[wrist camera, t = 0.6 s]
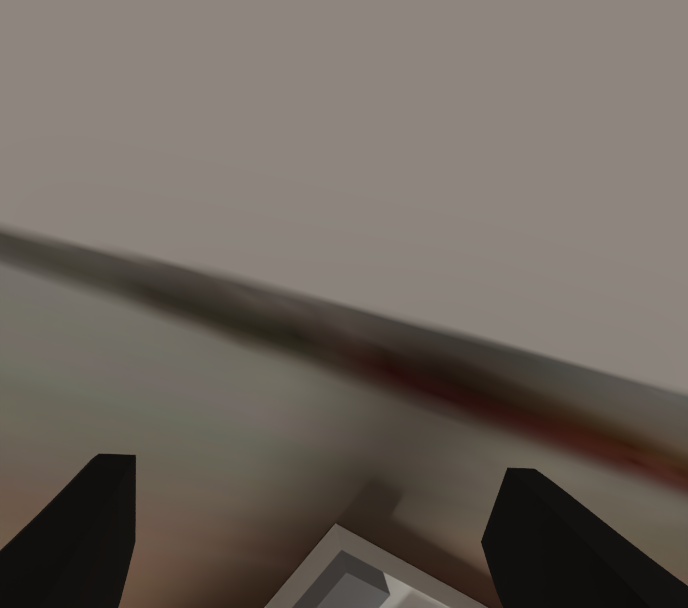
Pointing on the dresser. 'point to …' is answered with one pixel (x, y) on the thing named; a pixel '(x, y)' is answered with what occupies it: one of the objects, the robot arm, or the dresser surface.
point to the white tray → (362, 579)
